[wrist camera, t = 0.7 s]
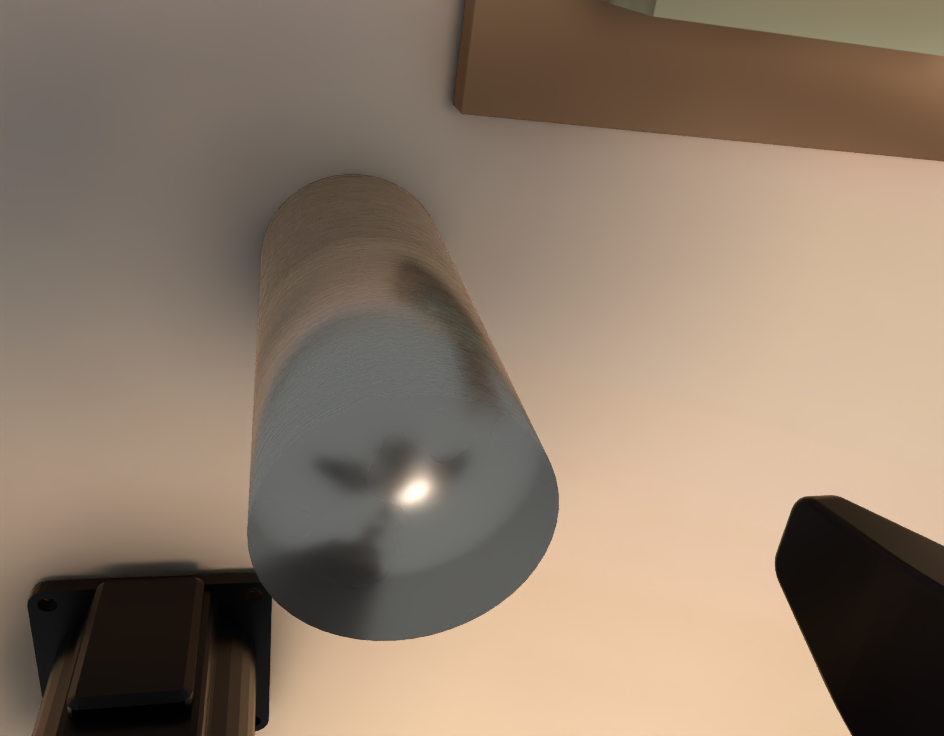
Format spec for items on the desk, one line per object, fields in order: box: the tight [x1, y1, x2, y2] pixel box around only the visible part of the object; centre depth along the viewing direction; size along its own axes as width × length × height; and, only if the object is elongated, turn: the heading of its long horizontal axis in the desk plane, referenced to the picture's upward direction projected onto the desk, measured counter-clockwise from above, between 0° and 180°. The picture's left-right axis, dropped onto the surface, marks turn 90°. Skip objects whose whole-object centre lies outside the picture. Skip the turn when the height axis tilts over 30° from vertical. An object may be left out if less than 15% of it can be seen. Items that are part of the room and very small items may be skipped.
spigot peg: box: [247, 175, 559, 641], centre depth 16 cm, size 4×4×10 cm
